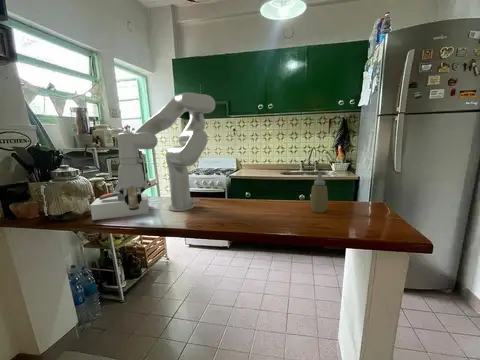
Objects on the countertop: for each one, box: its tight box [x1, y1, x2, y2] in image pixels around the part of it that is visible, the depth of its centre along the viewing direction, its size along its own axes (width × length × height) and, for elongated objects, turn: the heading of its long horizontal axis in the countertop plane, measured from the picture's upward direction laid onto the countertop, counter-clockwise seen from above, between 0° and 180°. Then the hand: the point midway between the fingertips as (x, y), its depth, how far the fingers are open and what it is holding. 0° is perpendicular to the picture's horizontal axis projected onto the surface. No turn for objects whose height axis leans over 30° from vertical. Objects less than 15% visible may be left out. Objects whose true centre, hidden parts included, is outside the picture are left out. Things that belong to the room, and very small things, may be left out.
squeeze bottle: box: [309, 172, 329, 214], centre depth 112 cm, size 8×8×18 cm
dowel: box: [127, 186, 139, 210], centre depth 106 cm, size 4×4×12 cm
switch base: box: [89, 193, 150, 221], centre depth 120 cm, size 24×14×11 cm, turn 110°
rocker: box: [98, 189, 128, 200], centre depth 119 cm, size 18×5×1 cm, turn 110°
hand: (133, 203), depth 107 cm, fingers closed on dowel, 4 cm apart
